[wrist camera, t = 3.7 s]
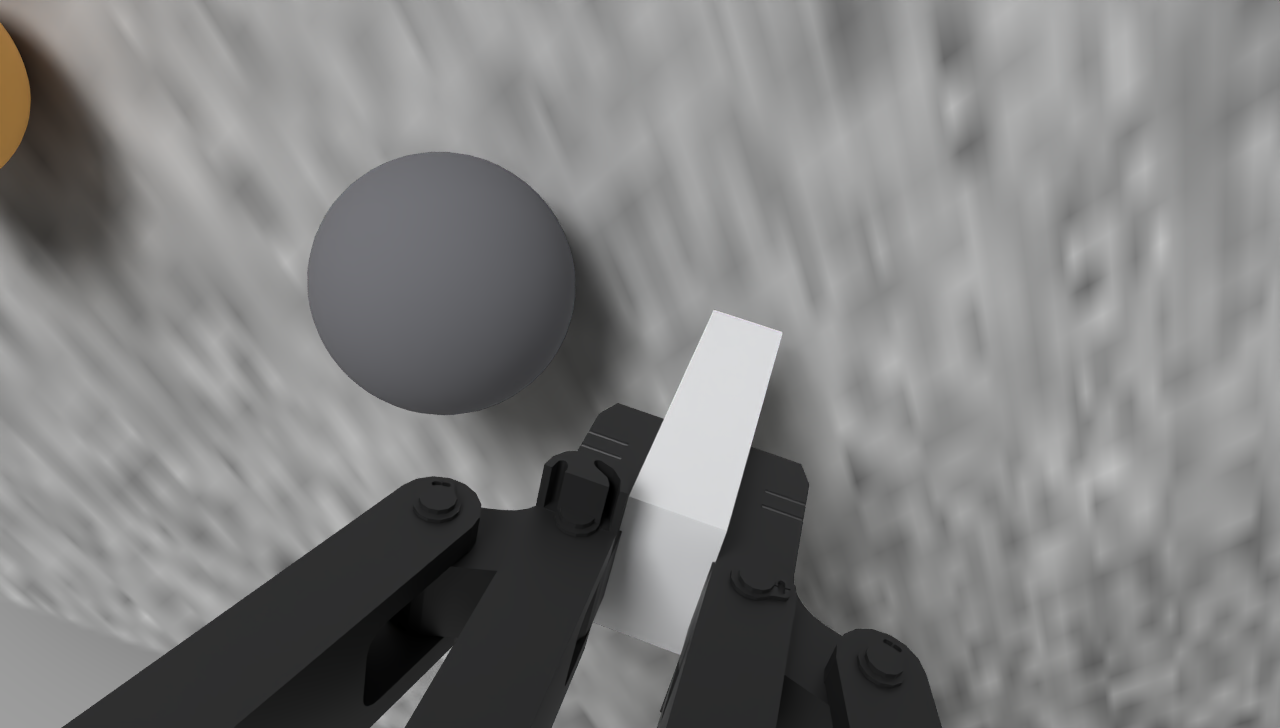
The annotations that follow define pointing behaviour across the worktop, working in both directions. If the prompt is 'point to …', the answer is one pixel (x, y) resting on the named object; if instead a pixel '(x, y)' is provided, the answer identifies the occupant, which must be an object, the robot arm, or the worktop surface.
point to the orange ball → (12, 97)
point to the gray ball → (441, 283)
